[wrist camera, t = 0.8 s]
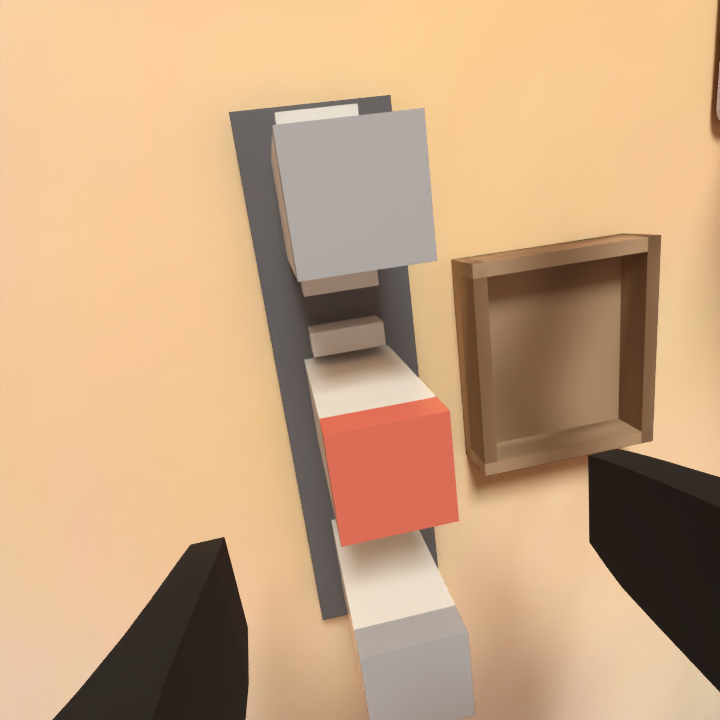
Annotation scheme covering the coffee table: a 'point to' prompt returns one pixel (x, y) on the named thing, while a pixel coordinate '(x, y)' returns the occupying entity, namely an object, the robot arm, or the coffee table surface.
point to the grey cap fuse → (354, 193)
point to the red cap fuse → (381, 445)
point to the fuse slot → (405, 630)
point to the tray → (557, 349)
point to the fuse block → (316, 321)
